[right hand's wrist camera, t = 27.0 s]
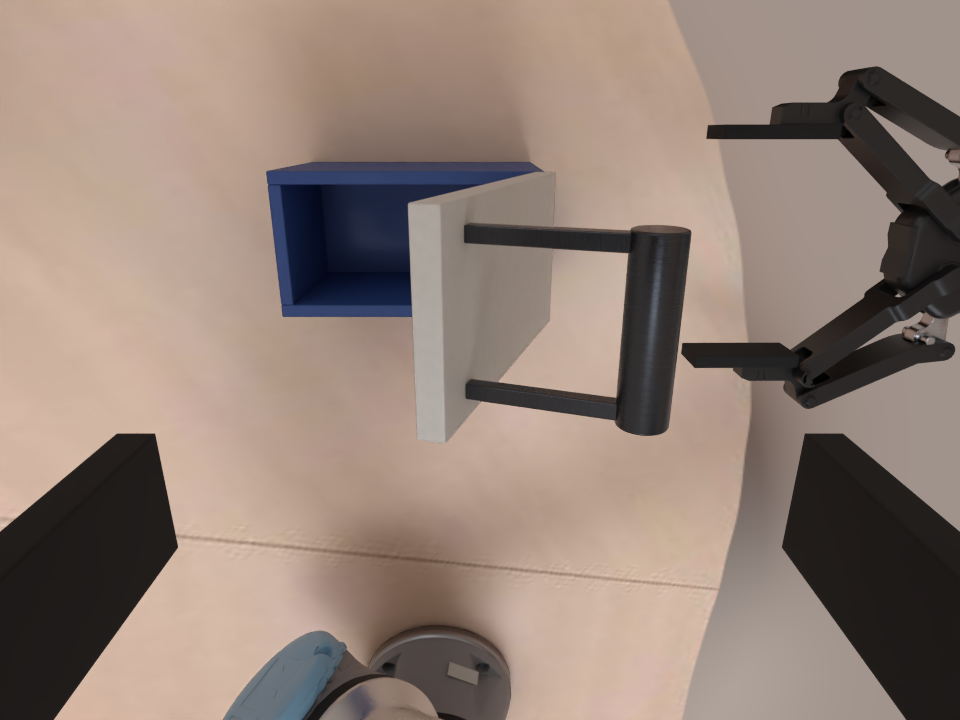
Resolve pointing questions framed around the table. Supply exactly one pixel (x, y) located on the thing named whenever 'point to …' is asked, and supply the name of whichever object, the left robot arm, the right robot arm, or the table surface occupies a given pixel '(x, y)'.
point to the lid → (531, 305)
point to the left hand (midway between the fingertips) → (700, 250)
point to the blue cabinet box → (358, 230)
